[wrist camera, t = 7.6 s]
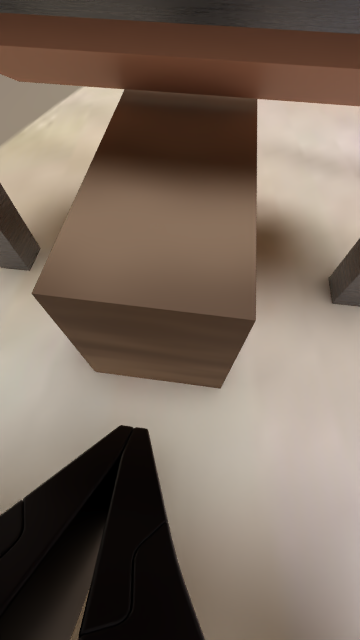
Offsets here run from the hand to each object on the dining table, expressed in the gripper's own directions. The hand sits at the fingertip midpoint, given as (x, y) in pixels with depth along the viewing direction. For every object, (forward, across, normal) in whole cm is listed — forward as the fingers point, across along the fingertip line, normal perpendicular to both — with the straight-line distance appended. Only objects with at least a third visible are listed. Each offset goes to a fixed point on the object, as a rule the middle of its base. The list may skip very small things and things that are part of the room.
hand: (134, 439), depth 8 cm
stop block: (+12, 0, -3) cm, 12 cm away
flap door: (+10, 0, -13) cm, 16 cm away
